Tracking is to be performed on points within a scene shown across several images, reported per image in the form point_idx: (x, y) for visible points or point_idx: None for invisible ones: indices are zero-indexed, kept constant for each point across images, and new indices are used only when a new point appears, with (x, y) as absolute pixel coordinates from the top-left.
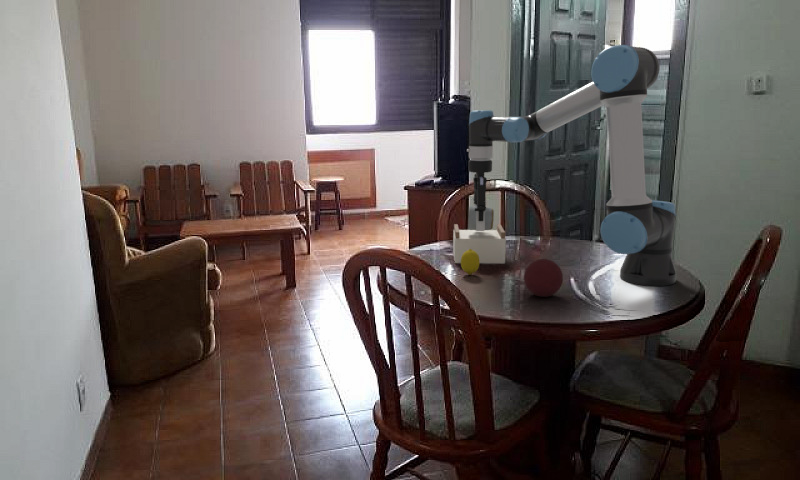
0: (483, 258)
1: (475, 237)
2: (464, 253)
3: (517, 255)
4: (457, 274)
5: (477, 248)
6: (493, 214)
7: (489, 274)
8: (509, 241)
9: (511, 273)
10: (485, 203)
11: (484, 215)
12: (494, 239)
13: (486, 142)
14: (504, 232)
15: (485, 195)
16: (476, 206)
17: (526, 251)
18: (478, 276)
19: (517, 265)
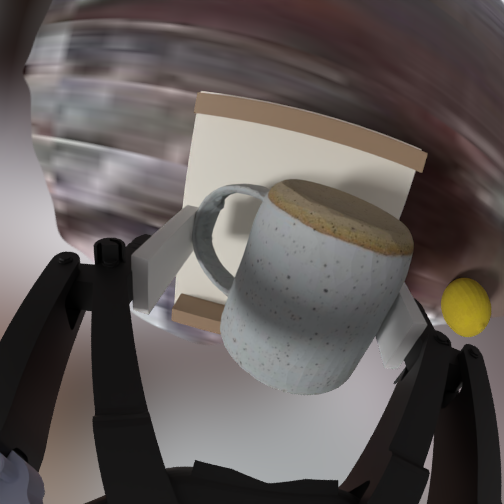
0: None
1: None
2: (471, 336)
3: (276, 50)
4: (433, 310)
5: None
6: (406, 235)
7: (467, 238)
8: (79, 49)
9: (479, 177)
10: (487, 377)
11: (414, 307)
12: (405, 200)
13: None
14: (426, 156)
15: (496, 424)
16: (153, 294)
17: (220, 7)
18: (467, 270)
19: (414, 112)
